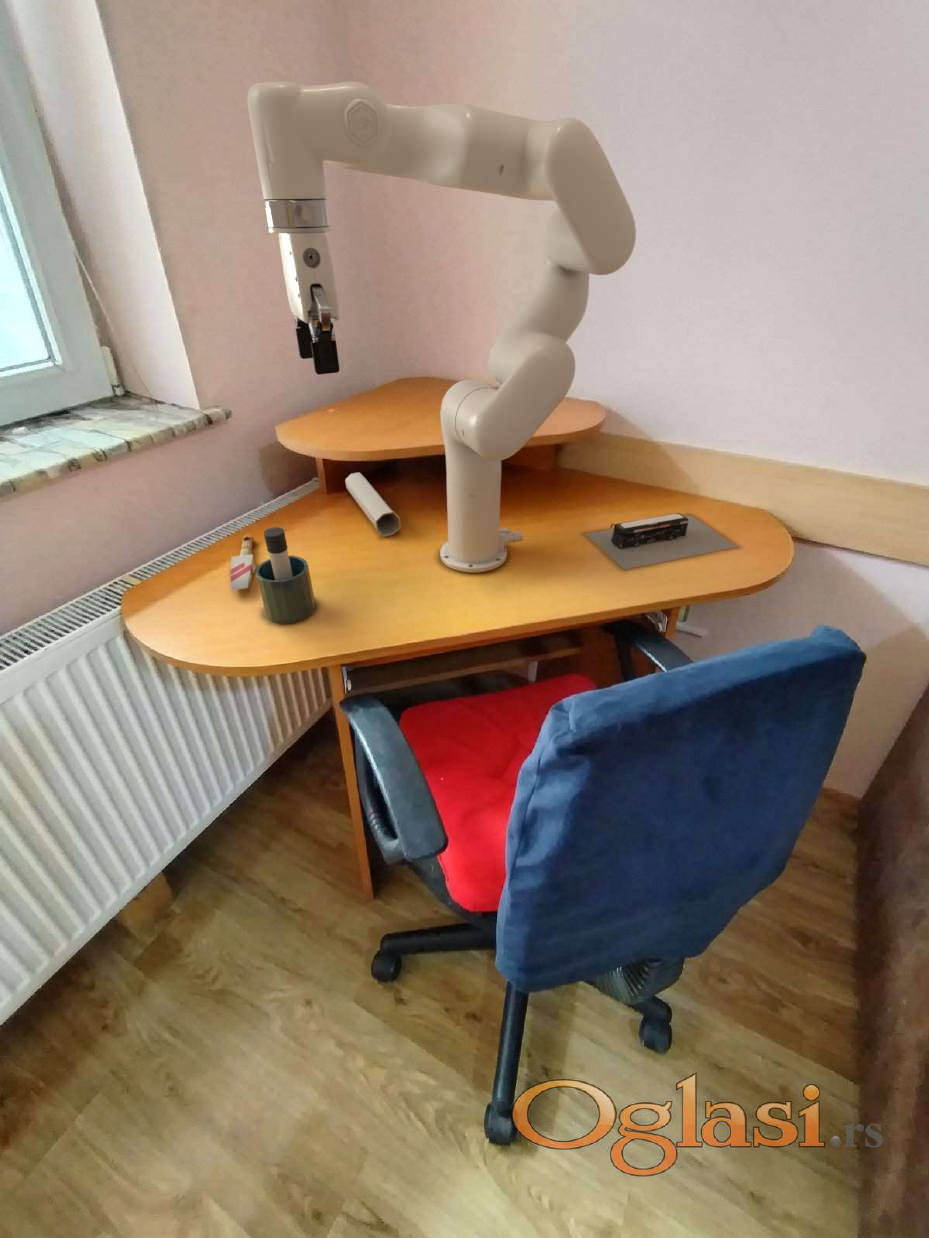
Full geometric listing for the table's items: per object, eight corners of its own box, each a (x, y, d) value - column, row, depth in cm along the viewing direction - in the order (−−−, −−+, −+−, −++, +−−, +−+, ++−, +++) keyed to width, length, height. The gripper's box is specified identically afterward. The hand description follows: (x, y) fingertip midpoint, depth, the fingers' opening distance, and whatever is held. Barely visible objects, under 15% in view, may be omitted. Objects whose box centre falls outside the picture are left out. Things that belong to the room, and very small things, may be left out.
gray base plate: (586, 534, 120) (588, 515, 117) (691, 515, 126) (695, 496, 124) (624, 569, 108) (627, 549, 106) (737, 547, 115) (743, 527, 112)
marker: (297, 600, 100) (281, 525, 92) (301, 609, 98) (285, 534, 90) (279, 604, 99) (262, 529, 91) (282, 613, 97) (265, 538, 89)
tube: (338, 475, 135) (371, 520, 116) (358, 464, 135) (395, 507, 117) (348, 495, 138) (381, 541, 120) (368, 484, 139) (405, 528, 120)
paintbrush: (224, 583, 100) (237, 533, 116) (228, 596, 102) (240, 545, 118) (248, 580, 101) (257, 530, 117) (252, 594, 102) (260, 543, 118)
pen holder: (309, 591, 103) (301, 551, 99) (320, 616, 98) (312, 574, 93) (262, 602, 101) (252, 562, 96) (270, 628, 95) (260, 586, 90)
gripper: (346, 220, 68) (362, 376, 78) (312, 214, 81) (330, 350, 91) (280, 221, 66) (305, 383, 76) (256, 216, 78) (280, 355, 88)
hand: (319, 365), depth 83 cm, fingers open, 9 cm apart
